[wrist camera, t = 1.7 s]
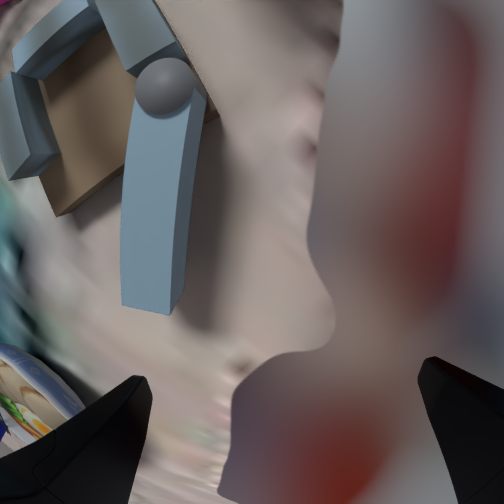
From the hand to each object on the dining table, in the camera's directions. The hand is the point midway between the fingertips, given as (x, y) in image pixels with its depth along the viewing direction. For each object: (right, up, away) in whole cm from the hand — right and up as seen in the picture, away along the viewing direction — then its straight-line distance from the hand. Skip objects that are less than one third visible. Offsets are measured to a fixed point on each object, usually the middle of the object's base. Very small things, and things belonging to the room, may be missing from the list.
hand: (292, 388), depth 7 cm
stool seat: (-13, +16, +8) cm, 22 cm away
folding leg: (-6, +8, +9) cm, 13 cm away
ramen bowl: (-27, -13, +18) cm, 36 cm away
